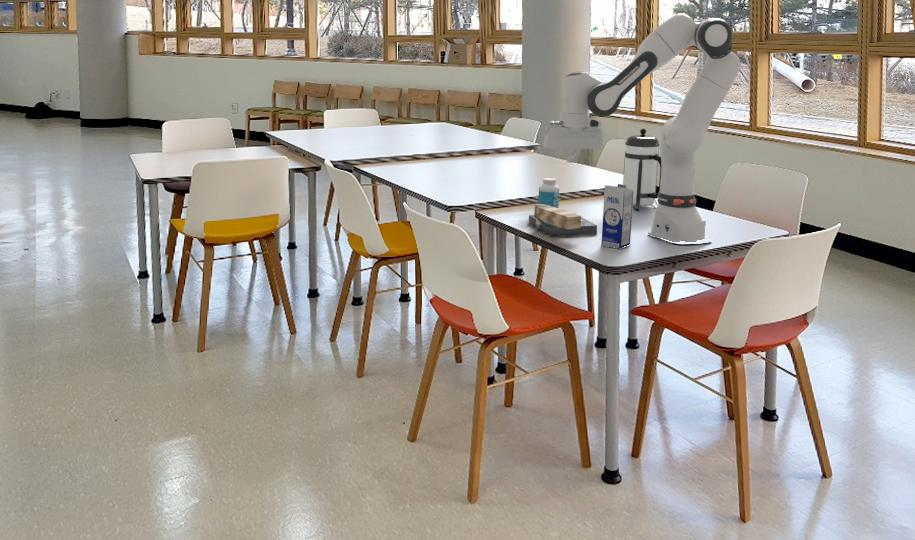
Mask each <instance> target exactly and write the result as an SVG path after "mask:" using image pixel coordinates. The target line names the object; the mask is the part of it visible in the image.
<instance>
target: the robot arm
mask: <svg viewBox="0 0 915 540" xmlns="http://www.w3.org/2000/svg"><path fill="white" fill-rule="evenodd" d="M691 46H692V47H693V48H695V49H696V50H698V52H699V51H700V52H701V53H704V54H705V56H706V57H705V58H706V60H705V63H704V65H703V67H702V68H701V70H700V72H699V73H698V75H697V77H696V79H695V80H694V82H693V83H692V85H691V86H690V88H689V89H688V91H687V93H686V94H685V97H684V98H683V99H684V100H683V102H682V104H681V106H680V108H679V111H678V113H677V115H676V116H673V117H670V118H669V119H668V120H666V121H665V122H664V124H663V125H662V128H661V133H660V134H661V136H660V137H661V138H660V157H661V182H660V192H659V193H658V192H657V193H658V198H657V205H658V206H657V205H656V207H655V208H656V209H655V208H654V209H655V210H653V214H652V222H651V226H650V227H651V228H650V231H648V232H647V235H648V234H649V235H652V236H655V237H659V238H663V239H666V240H669V241H672V242H680V241H685V242H696V241H697V240H702V239H705V235H706V220H705V219H703V218H702V217H701V215H700V213H699V211H698V209H697V207H696V205H697V204H696V203H697V199H696V196H695V191H694V190H695V179H696V178H695V177H696V164H695V152H696V151H697V150H699V148H700V147H701V145H702V141H703V139H704V137H705V136H706V134H707V131H708V130H709V127H710V125H711V122H712V121H713V118H714V116H715V115H716V112H717V111H718V110H719V108H720V106H721V104H722V103H723V101H724V99H725V98H726V96H727V94H728V93H729V92H730V89H731V88H732V86H733V85H734V83H735V81H736V78H737V76H738V74H739V71H740V69H741V66H742V63H741V59H740V58H739V56H738V55H737V54H736V53H735V52H733V51H732V48H733V31H732V28H731V25H730V24H729V23H728V21H726V20H724V19H722V18H719V17H713V18H712V17H710V18H707V19H705V20H701V21H697V22H696V21H694V20H693V18H692V17H691V16H690V15H687V14H685V13H677V14H674V15H673V16H671V17H669V18H668V19H667V20H665V21H664V22H662V23H660V25H658V26H657V27H655V29H654V30H653V31H652V32H650V33H649V34H647V36H646V37H645V38H644V40H643V41H642V42H641V43H640V45H639V46H638V48H637V51H636V53H635V56H634V58H633V59H632V61H631V62H630V63H629V64H628V65H627V66H625V68H624V69H623V70H621V72H619V73H618V74H617V75H616V76H615V77H613V79H612V80H610V81H608V82H605V81H603V80H600V79H598V78H596V77H595V76H593V75H591V74H590V73H589V72H588V71H585V70H584V71H582V70H581V71H576V72H571V73H569V74H567V75H566V76H565V78H564V79H563V80H564V81H563V86H562V95H561V99H562V108H561V113H560V121H559V120H558V121H553V120H551V121H549V122H547V123H545V126H544V137H543V142H542V143H543V147H544V149H546V150H552V151H553V150H555V151H556V150H563V152H564V155H565V156H566V162H567V163H569V164H570V163H577V162H578V157H579V155H580V154H581V153H582V152H581V150H593V149H594V150H598V149H599V150H600V149H601V148H602V146H603V131H602V129H601V126H602V121H601V120H599V119H596V118H594V117H592V116H589V111H590V112H591V113H592V114H593V115H594V116H597V117H600V118H605V117H609V116H612V115H613V114H615V112H616V111H617V109H618V108H619V106H620V104H621V102H622V100H623V98H624V97H625V96H626V95H627V94H628V93H629V92H630V91H631V90H632V89H633V88H634V87H636V86H637V85H638V84H640V83H641V81H642V80H643V79H645V78H646V77H647V76H649V75H650V74H652V73H654V72H655V71H657V70H659V69H660V68H662V67H664V66H665V65H667V64H668V63H670V62H671V61H673V59H675V58H676V57H677V56H678V55H679V54H680V53H682V51H684V50H686V49H687V48H689V47H691ZM571 150H574V154H573V156H571V154H570V153H571ZM649 235H648V236H649ZM652 236H651V237H652Z"/></svg>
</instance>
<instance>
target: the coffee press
mask: <svg viewBox="0 0 915 540" xmlns="http://www.w3.org/2000/svg"><path fill="white" fill-rule="evenodd" d="M639 132H640V134H633V135H630V136H628V137H627V139H626V141H625V142H624V144H625V151H624V162H623V163H624V164H623V165H624V166H623V176H622V177H623V178H622V179H623V180H622V185H626V188H628V189H631V190H633V191H634V192H633V207H635V211H636V212H640V207H649V206H651V207H652V208H654V209H655V208H656V207H657V206H658V202H656V199H658V193H659V192H660V182H661V155H659V147H661V142H660V141H659V139H658V138H657V137H656V136H653V135H649V134H646V133H647V130H646V129H645V128H641V129H640V130H639ZM658 166H659V183H658V191H657V190H656V189H657V182H658V181H657V180H658V179H657V178H658V176H657V175H658ZM654 203H655V205H656V207H655V206H654Z"/></svg>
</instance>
